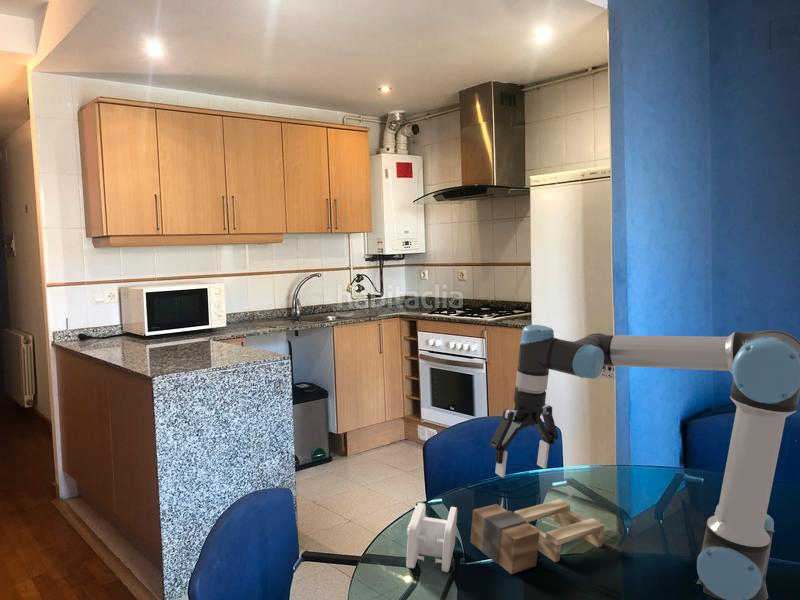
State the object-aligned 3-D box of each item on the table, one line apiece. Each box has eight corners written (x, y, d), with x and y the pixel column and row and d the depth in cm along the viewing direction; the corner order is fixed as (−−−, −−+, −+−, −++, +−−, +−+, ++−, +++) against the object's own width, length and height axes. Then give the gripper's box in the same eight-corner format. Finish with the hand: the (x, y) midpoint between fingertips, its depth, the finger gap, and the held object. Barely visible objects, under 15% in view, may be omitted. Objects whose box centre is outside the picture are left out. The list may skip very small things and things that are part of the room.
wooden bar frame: (601, 546, 169) (604, 524, 168) (555, 562, 160) (557, 539, 159) (557, 518, 182) (559, 499, 181) (512, 532, 173) (514, 511, 172)
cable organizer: (447, 580, 150) (451, 533, 148) (403, 572, 152) (406, 526, 150) (454, 547, 164) (458, 504, 162) (414, 540, 166) (417, 498, 164)
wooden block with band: (536, 565, 158) (540, 530, 157) (510, 574, 154) (514, 538, 152) (494, 535, 171) (497, 502, 170) (469, 542, 167) (472, 508, 165)
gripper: (557, 379, 166) (547, 457, 169) (480, 388, 153) (471, 472, 156) (579, 388, 159) (568, 469, 163) (500, 398, 147) (491, 485, 150)
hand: (521, 470), depth 160 cm, fingers open, 13 cm apart
